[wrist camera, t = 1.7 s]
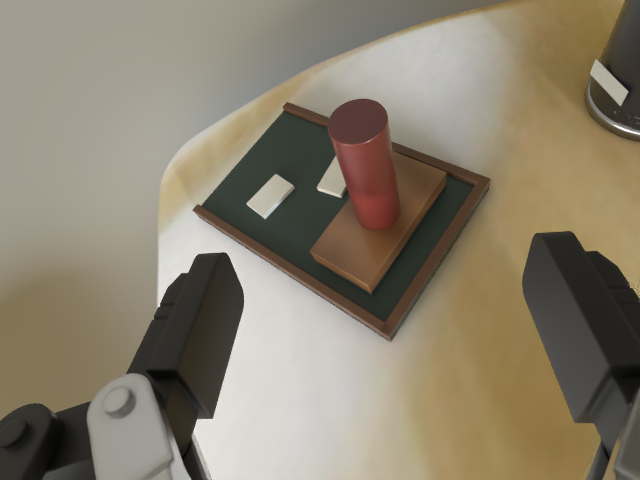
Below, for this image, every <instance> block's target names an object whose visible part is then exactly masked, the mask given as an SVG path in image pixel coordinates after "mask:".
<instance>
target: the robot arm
mask: <svg viewBox="0 0 640 480" xmlns="http://www.w3.org/2000/svg"><path fill="white" fill-rule="evenodd" d="M590 74H591V75H592V76H591V78H590V80H589V83H588V85H587V88H586V91H585V104H586V107H587V110H588V111H589V113H590V115H591V116H592V117H593V118H594V120H595V121H596V122H598V123H599V124H600V125H601V126H603V127H604V128H605V129H607V130H609V131H611V132H613V133H615V134H617V135H619V136H622V137H625V138H628V139H632V140H637V141H640V0H625V2H624V4H623V7H622V9H621V11H620V14H619V16H618V19H617V21H616V23H615V26H614V28H613V30H612V33H611V35H610V37H609V40H608V42H607V44H606V47H605V48H604V51H603V53H602V55H601V58H600V60H599V61H598V60H597V59H596V60H595V62H594V65H593V67H592V70H591V72H590ZM629 285H630V284H629V283H628V281H627V280H626V278H625V277H624V275H623V274H622V272H621V271H620V270H619V268H618V267H617V266H616V265H615V264H614V263H612V262H611V261H610V260H608V259H607V258H606V257H604V256H603V255H602V254H600V253H599V252H597V251H589V252H585V250H584V249H583V247H582V246H581V244H580V242H579V241H578V239H577V237H576V236H575V235H574V234H573V233H572V232H571V231H564V232H548V233H536V234H535V235H534V236H533V239H532V242H531V246H530V250H529V254H528V258H527V262H526V265H525V269H524V273H523V279H522V286H523V293H524V297H525V300H526V303H527V305H528V308H529V310H530V313H531V315H532V318H533V320H534V323H535V325H536V328H537V330H538V333H539V335H540V338H541V340H542V343H543V345H544V348H545V350H546V352H547V355H548V357H549V360H550V362H551V365H552V367H553V370H554V372H555V375H556V377H557V380H558V382H559V385H560V387H561V390H562V392H563V395H564V397H565V400H566V402H567V405H568V407H569V410H570V412H571V415H572V417H573V420H574V422H575V423H594V424H595V426H596V428H597V431H598V433H599V435H600V438H599V440H598V442H597V444H596V447H595V449H594V452H593V455H592V457H591V460H590V463H589V465H588V468H587V471H586V473H585V476H584V479H583V480H640V299H639V297H638V296H637V295H636V293H635V292H634V290H633V289H632V288H630V287H629ZM243 307H244V294H243V289H242V286H241V284H240V282H239V279H238V277H237V275H236V272H235V270H234V268H233V265H232V263H231V260H230V258H229V256H228V255H227V254H226V253H224V252H223V253H207V254H198V255H197V256H196V257H195V259H194V261H193V264H192V266H191V268H190V270H189V273H181V274H180V275H179V276H178V278H177V279H176V280H175V281H174V282H173V283H172V284H171V285H170V286H169V287H168V288H167V290H166V292H165V295H164V297H163V299H162V301H161V303H160V307H158V309H157V311H156V313H155V315H154V320H152V322H151V324H150V326H149V328H148V330H147V332H146V334H145V336H144V338H143V340H142V342H141V344H140V346H139V348H138V351H137V353H136V355H135V357H134V359H133V361H132V363H131V365H130V367H129V369H128V371H127V373H126V374H125V375H122V376H119V377H117V378H115V379H113V380H112V381H110V382H109V383H108V384H106V385H105V386H104V387H103V388H102V389H101V390H100V391H99V392H98V393H97V394H96V396H95V397H94V399H93V400H92V401H91V402H87V403H84V404H81V405H78V406H75V407H72V408H69V409H66V410H63V411H60V412H57V413H54V412H52V411H51V410H50V409H48V408H47V407H46V406H44V405H42V404H35V403H34V404H28V405H25V406H22V407H20V408H18V409H16V410H14V411H13V412H11V413H10V414H8V415H7V416H5V417H4V418H3V419H2V420H1V421H0V480H212V479H211V476H210V474H209V471H208V468H207V466H206V463H205V461H204V458H203V455H202V453H201V450H200V448H199V445H198V442H197V440H196V437H195V435H194V433H193V430H194V427H195V424H196V421H197V419H213V416H214V412H215V408H216V405H217V401H218V398H219V394H220V390H221V387H222V383H223V380H224V376H225V373H226V369H227V365H228V362H229V358H230V355H231V351H232V347H233V344H234V340H235V337H236V333H237V329H238V326H239V322H240V319H241V315H242V312H243Z"/></svg>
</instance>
